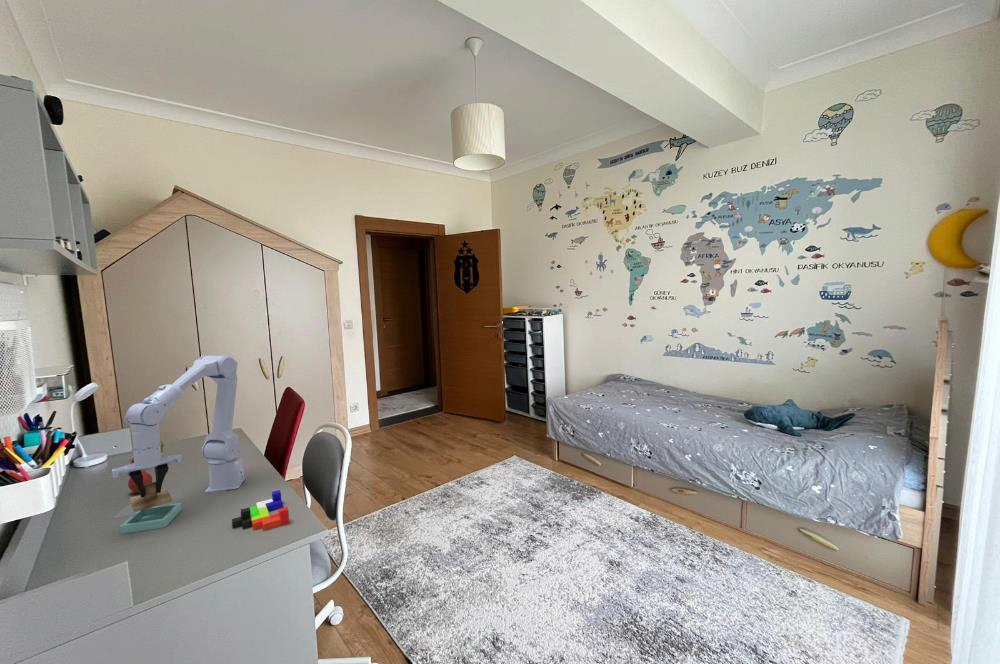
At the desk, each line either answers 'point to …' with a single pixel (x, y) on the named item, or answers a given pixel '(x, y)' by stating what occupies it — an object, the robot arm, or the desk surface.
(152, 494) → the lid
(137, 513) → the dish
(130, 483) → the pomegranate
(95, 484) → the desk surface
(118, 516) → the mat
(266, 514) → the building blocks
